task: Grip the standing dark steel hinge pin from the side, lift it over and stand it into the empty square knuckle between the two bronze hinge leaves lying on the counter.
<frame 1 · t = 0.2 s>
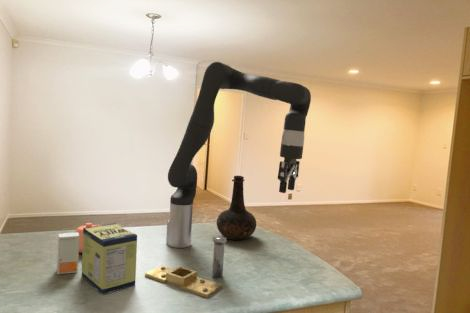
hand: (286, 191, 120), 29 cm above the counter, tool pointing down, fingers open, 8 cm apart
glass bottle: (235, 237, 159), on the counter
hinge pin: (217, 276, 115), on the counter
protein box: (107, 281, 107), on the counter
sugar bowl: (89, 250, 132), on the counter
skincare box: (67, 271, 112), on the counter
hinge leaves: (181, 281, 110), on the counter
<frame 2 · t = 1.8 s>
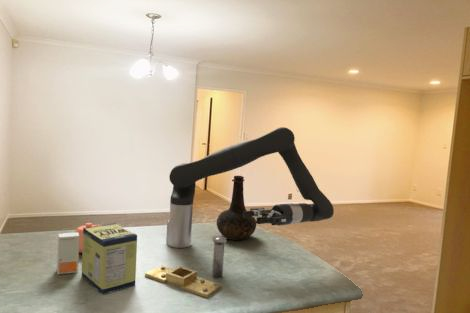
hand: (249, 217, 119), 19 cm above the counter, tool horizontal, fingers open, 8 cm apart
nothing on the counter moved.
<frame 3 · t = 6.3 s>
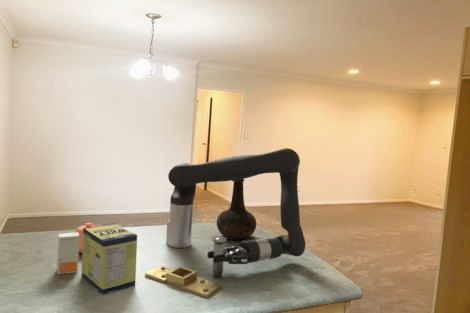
hand: (210, 257, 113), 7 cm above the counter, tool horizontal, fingers closed on hinge pin, 3 cm apart
hinge pin: (217, 276, 115), on the counter, touching gripper
everything else where it was.
when the fingers open (9 cm above the counter, at t = 10.8 s): hinge pin drops 2 cm, resting in hinge leaves.
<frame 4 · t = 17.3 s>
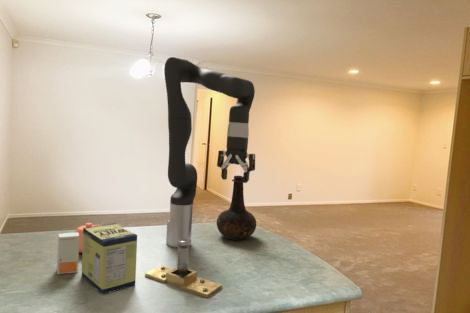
hand: (234, 181, 126), 30 cm above the counter, tool pointing down, fingers open, 8 cm apart
hinge pin: (181, 281, 110), resting in hinge leaves
everything else where it was.
at the end: hinge pin 0.1 cm off-centre on the hinge leaves, point 0.0 cm above the hinge leaves's base; hinge pin tilted 0°; the gripper is holding nothing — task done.
